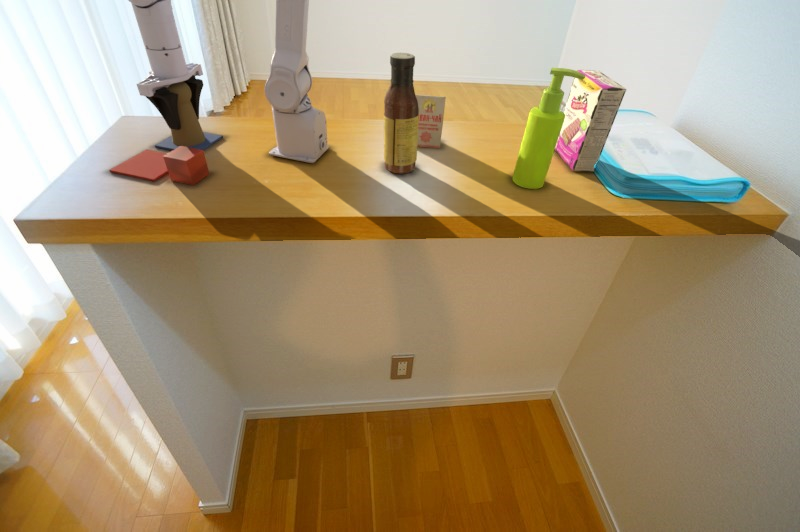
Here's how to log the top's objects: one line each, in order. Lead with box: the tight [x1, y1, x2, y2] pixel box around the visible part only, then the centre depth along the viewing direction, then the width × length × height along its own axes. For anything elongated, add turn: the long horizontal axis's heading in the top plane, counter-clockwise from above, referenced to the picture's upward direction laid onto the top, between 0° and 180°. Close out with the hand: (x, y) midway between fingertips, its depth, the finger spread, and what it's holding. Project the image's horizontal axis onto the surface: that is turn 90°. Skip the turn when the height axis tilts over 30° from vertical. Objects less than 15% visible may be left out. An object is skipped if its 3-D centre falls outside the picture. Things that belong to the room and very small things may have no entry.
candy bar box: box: [554, 69, 627, 173], centre depth 82 cm, size 11×5×16 cm, turn 6°
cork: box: [167, 82, 206, 147], centre depth 79 cm, size 6×6×11 cm
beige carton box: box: [415, 94, 447, 149], centre depth 86 cm, size 4×7×10 cm, turn 87°
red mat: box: [108, 149, 169, 182], centre depth 74 cm, size 9×9×1 cm
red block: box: [163, 146, 210, 186], centre depth 71 cm, size 4×4×4 cm
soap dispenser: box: [511, 67, 585, 190], centre depth 72 cm, size 6×7×20 cm
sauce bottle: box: [383, 52, 419, 175], centre depth 73 cm, size 6×6×20 cm
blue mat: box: [153, 131, 224, 151], centre depth 83 cm, size 9×9×1 cm
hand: (184, 123), depth 80 cm, fingers closed on cork, 5 cm apart
